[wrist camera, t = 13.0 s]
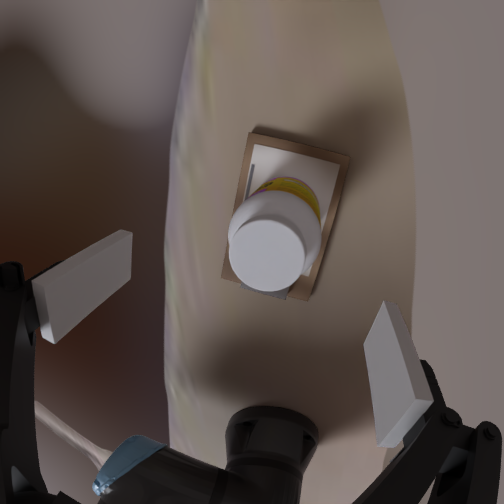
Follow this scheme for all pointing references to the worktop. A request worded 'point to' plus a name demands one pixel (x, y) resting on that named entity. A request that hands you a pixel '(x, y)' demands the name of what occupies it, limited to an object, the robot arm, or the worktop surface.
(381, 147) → the worktop surface
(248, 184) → the clipboard
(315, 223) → the supplement bottle
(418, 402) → the robot arm
